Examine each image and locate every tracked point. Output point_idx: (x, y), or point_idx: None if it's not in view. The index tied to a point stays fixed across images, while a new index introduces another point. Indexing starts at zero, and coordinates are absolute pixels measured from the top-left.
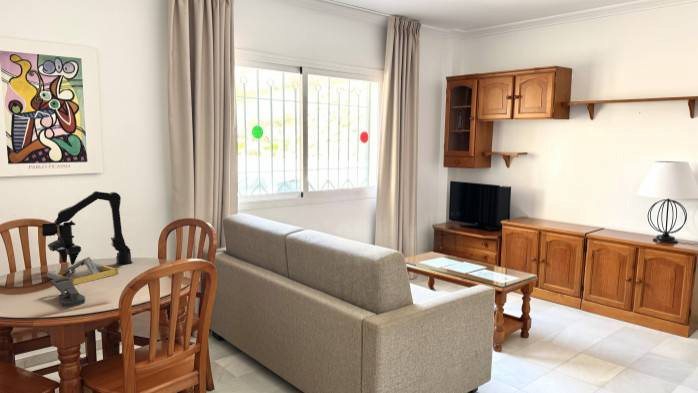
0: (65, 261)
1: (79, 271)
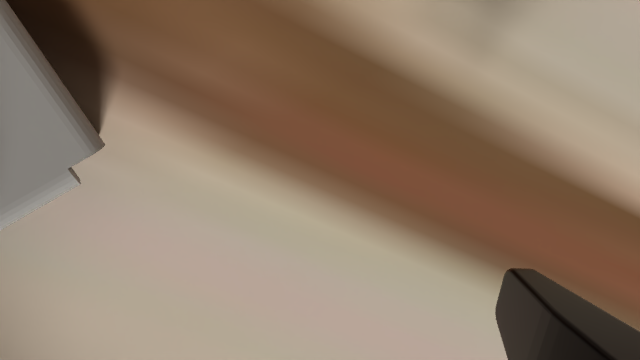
0: (498, 326)
1: (26, 262)
